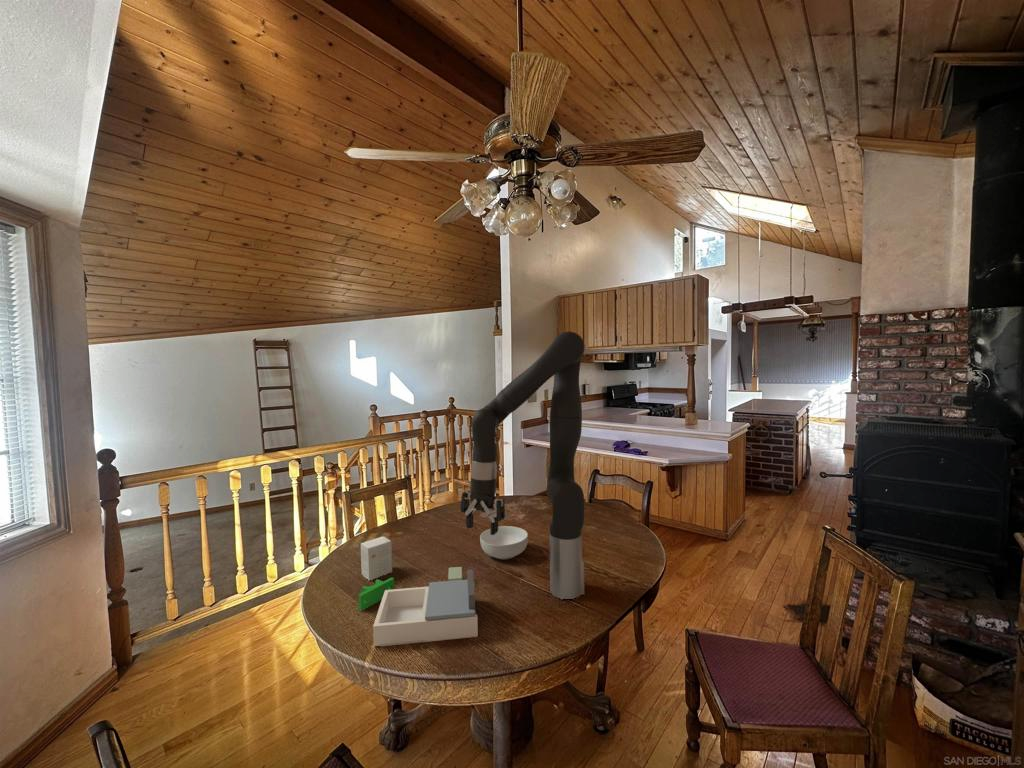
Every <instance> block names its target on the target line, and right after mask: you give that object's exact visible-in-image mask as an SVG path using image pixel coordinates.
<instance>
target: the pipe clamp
mask: <svg viewBox="0 0 1024 768" xmlns="http://www.w3.org/2000/svg"><path fill="white" fill-rule="evenodd" d="M374 580H375V579H374ZM374 582H375V584H373V585H369V586H366V585H363V586H362V587H361V593H359V594H358V595H357V596H358V597H357V599H358V600H357V601H358V611H359V610H361V611H362V610H363V611H365V610H366V609H365V608H367V609H368V607H369V606H370V607H372V606H374V605H376V604H377V603H379V602H381V601H382V598H383V595H384V592H385V590H393V589H395V578H394V577H389V578H388V579H386V580H384V581H383V580H380V579H379V578H376V580H375V581H374ZM380 600H381V601H380ZM378 601H379V602H378ZM375 603H376V604H375ZM373 604H374V605H373ZM371 605H372V606H371ZM370 607H369V608H370ZM364 609H365V610H364ZM361 611H360V612H361ZM363 611H362V612H363Z"/></svg>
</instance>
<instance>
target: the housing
mask: <svg viewBox="0 0 1024 768" xmlns="http://www.w3.org/2000/svg"><path fill="white" fill-rule="evenodd" d="M475 585H476V584H475V582H474V592H475V593H476V590H475V589H476V587H475ZM428 590H429V585H428V586H419V587H406V588H394V589H393V590H385V592H384V595H383V598H382V600H381V601H380V604H379V608H378V610H377V613H376V617H375V620H374V623H373V625H372V632H373V633H372V634H373V635H372V636H373V647H374V646H380V647H386V646H387V647H390V646H397V645H408V644H409V645H410V644H418V643H428V642H436V641H437V642H438V641H446V640H448V641H449V640H459V639H465V638H466V639H468V638H477V637H479V636H478V635H479V634H478V632H479V631H478V627H479V626H478V625H479V624H478V613H475V616H465V617H454V618H444V619H433V620H425V613H426V605H427V597H428Z"/></svg>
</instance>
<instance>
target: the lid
mask: <svg viewBox="0 0 1024 768" xmlns="http://www.w3.org/2000/svg"><path fill="white" fill-rule="evenodd" d="M466 576H467V578H466V579H462V580H454V581H448V580H444V581H433V582H431V581H430V582H429V583H428V586H429V590H428V597H427V605H426V613H425V620H433V619H444V618H454V617H465V616H475V614H476V591H475V592H474V583H475V582H474V571H473V569H467V573H466Z"/></svg>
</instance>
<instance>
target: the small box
mask: <svg viewBox="0 0 1024 768" xmlns="http://www.w3.org/2000/svg"><path fill="white" fill-rule="evenodd" d="M392 551H393V549H392V540H390V539H388V538H387V537H385V536H384V535H383V536H380V537H377V538H373V539H370V540H367V541H364V542H361V543H360V561H361V563H360V564H361V568H360V569H361V576H362V575H363V576H362V577H364V579H366V580H367V579H368V580H367V581H369V582H371V581H373V579H374V580H375V578H376V579H379V578H381V577H383V575H384V576H386V575H388V573H389V574H391V573H393V554H392ZM380 576H381V577H380ZM378 577H379V578H378ZM370 580H371V581H370Z"/></svg>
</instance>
